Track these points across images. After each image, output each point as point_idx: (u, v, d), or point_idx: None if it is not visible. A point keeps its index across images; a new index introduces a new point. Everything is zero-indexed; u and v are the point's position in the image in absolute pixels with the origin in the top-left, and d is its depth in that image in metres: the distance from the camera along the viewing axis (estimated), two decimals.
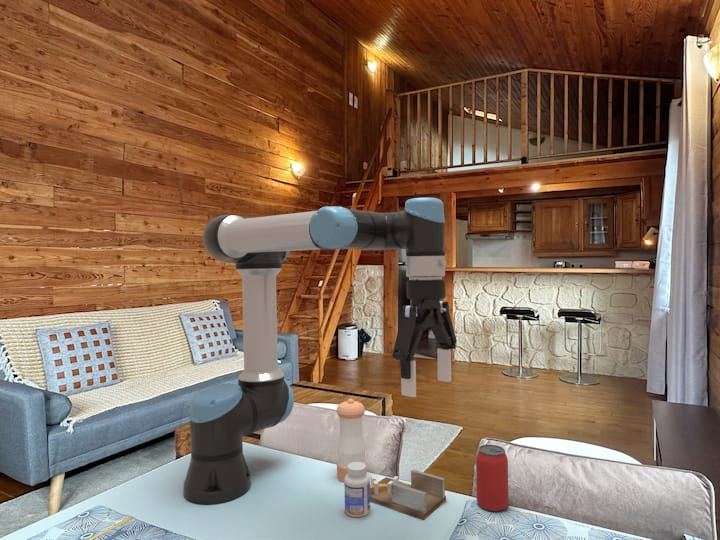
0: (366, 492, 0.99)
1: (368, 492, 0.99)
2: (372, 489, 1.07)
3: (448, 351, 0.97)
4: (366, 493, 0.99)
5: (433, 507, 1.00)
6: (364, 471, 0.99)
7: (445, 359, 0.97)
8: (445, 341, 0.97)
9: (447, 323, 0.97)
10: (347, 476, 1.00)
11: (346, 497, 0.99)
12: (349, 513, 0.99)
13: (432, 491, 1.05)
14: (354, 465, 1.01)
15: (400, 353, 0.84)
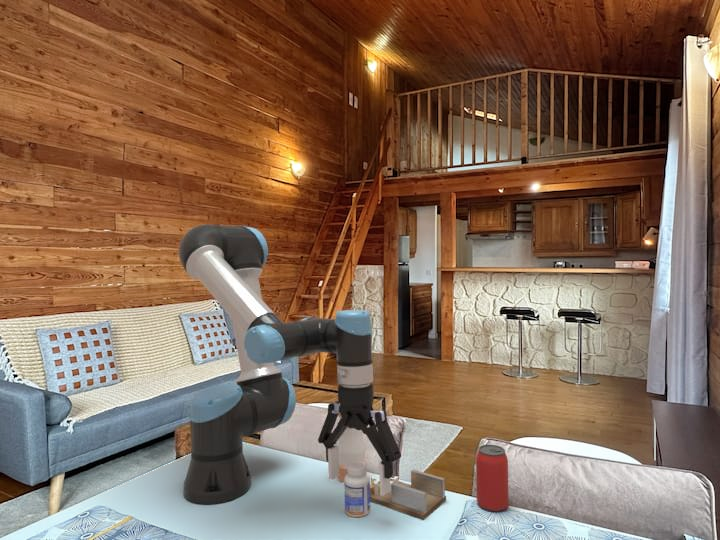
0: (366, 492, 0.99)
1: (368, 492, 0.99)
2: (372, 489, 1.07)
3: None
4: (366, 493, 0.99)
5: (433, 507, 1.00)
6: (364, 471, 0.99)
7: None
8: None
9: None
10: (347, 476, 1.00)
11: (346, 497, 0.99)
12: (349, 513, 0.99)
13: (432, 491, 1.05)
14: (354, 465, 1.01)
15: None
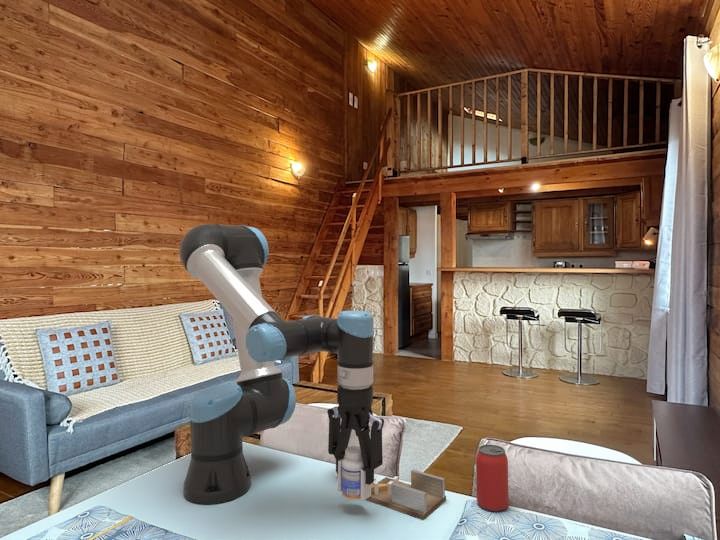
0: None
1: None
2: (372, 489, 1.07)
3: None
4: None
5: (433, 507, 1.00)
6: None
7: None
8: None
9: None
10: (345, 460, 1.01)
11: (344, 481, 0.99)
12: (346, 496, 0.99)
13: (432, 491, 1.05)
14: (352, 448, 1.01)
15: None
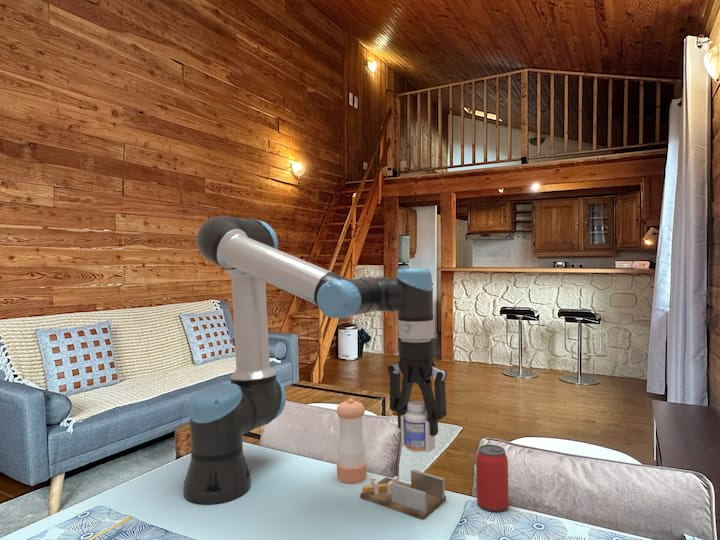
0: None
1: None
2: (372, 489, 1.07)
3: None
4: None
5: (433, 507, 1.00)
6: (425, 408, 1.02)
7: None
8: None
9: None
10: (408, 413, 1.03)
11: (408, 433, 1.01)
12: (411, 448, 1.01)
13: (432, 491, 1.05)
14: (414, 402, 1.03)
15: None
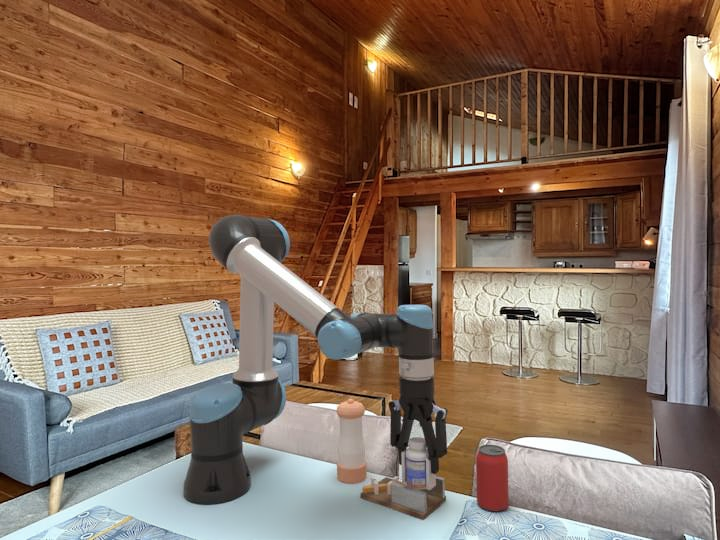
0: None
1: None
2: (372, 489, 1.07)
3: (426, 459, 1.00)
4: None
5: (433, 507, 1.00)
6: None
7: None
8: None
9: None
10: (408, 450, 1.03)
11: (409, 471, 1.01)
12: (412, 486, 1.01)
13: (432, 491, 1.05)
14: (415, 439, 1.03)
15: None
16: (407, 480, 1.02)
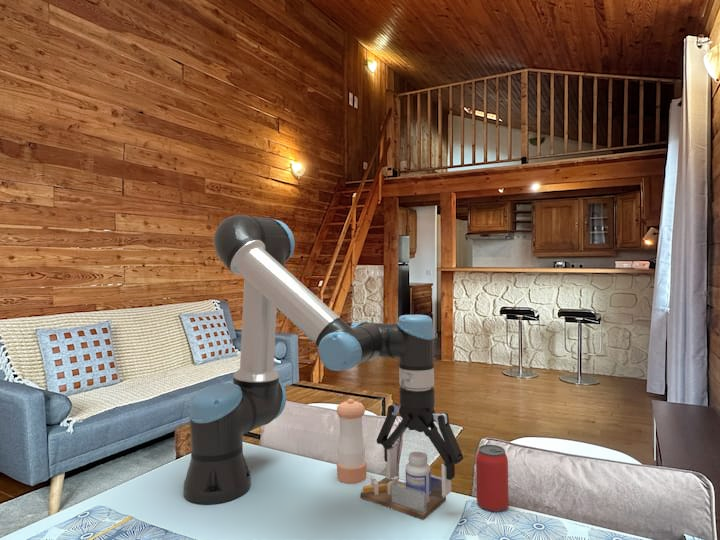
0: (427, 481, 1.01)
1: (429, 481, 1.02)
2: (372, 489, 1.07)
3: (442, 465, 0.98)
4: (428, 482, 1.01)
5: (433, 507, 1.00)
6: (426, 460, 1.02)
7: None
8: None
9: None
10: (408, 465, 1.03)
11: (409, 486, 1.01)
12: None
13: (432, 491, 1.05)
14: (415, 454, 1.03)
15: None
16: None
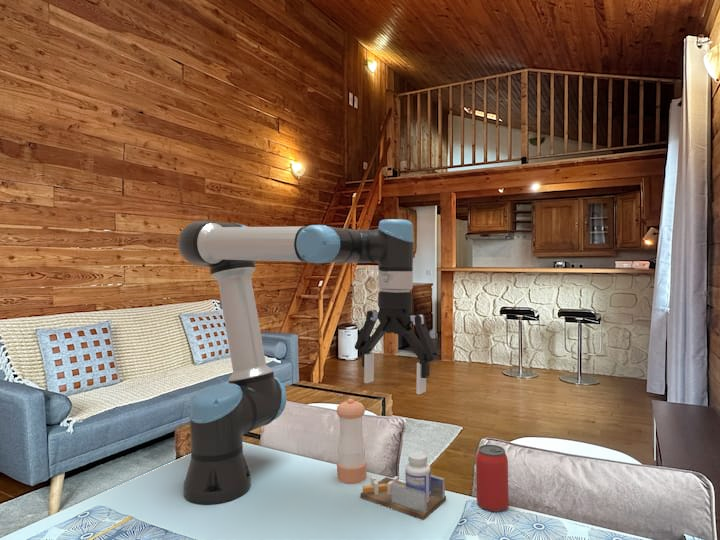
0: (427, 481, 1.01)
1: (429, 481, 1.02)
2: (372, 489, 1.07)
3: (417, 364, 1.00)
4: (428, 482, 1.01)
5: (433, 507, 1.00)
6: (425, 460, 1.02)
7: None
8: None
9: None
10: (408, 465, 1.03)
11: (409, 486, 1.01)
12: None
13: (432, 491, 1.05)
14: (415, 454, 1.03)
15: None
16: None
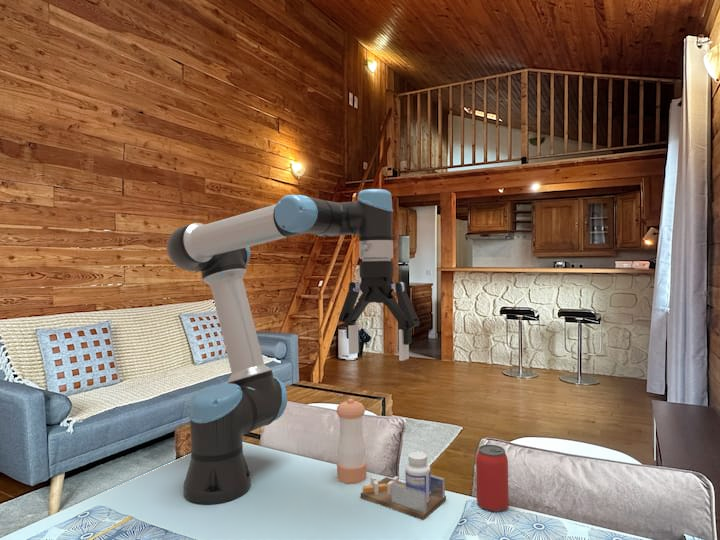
0: (427, 481, 1.01)
1: (429, 481, 1.02)
2: (372, 489, 1.07)
3: (399, 330, 1.00)
4: (428, 482, 1.01)
5: (433, 507, 1.00)
6: (425, 460, 1.02)
7: None
8: None
9: None
10: (408, 465, 1.03)
11: (409, 486, 1.01)
12: None
13: (432, 491, 1.05)
14: (415, 454, 1.03)
15: None
16: None
